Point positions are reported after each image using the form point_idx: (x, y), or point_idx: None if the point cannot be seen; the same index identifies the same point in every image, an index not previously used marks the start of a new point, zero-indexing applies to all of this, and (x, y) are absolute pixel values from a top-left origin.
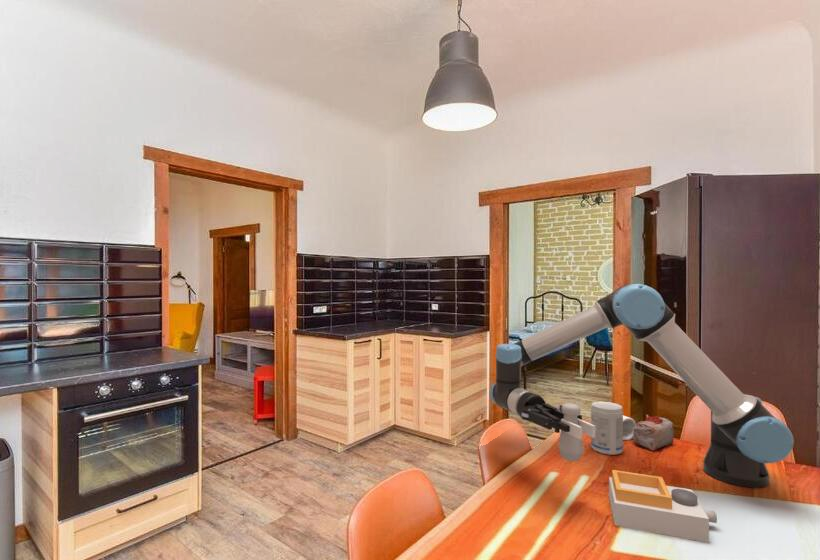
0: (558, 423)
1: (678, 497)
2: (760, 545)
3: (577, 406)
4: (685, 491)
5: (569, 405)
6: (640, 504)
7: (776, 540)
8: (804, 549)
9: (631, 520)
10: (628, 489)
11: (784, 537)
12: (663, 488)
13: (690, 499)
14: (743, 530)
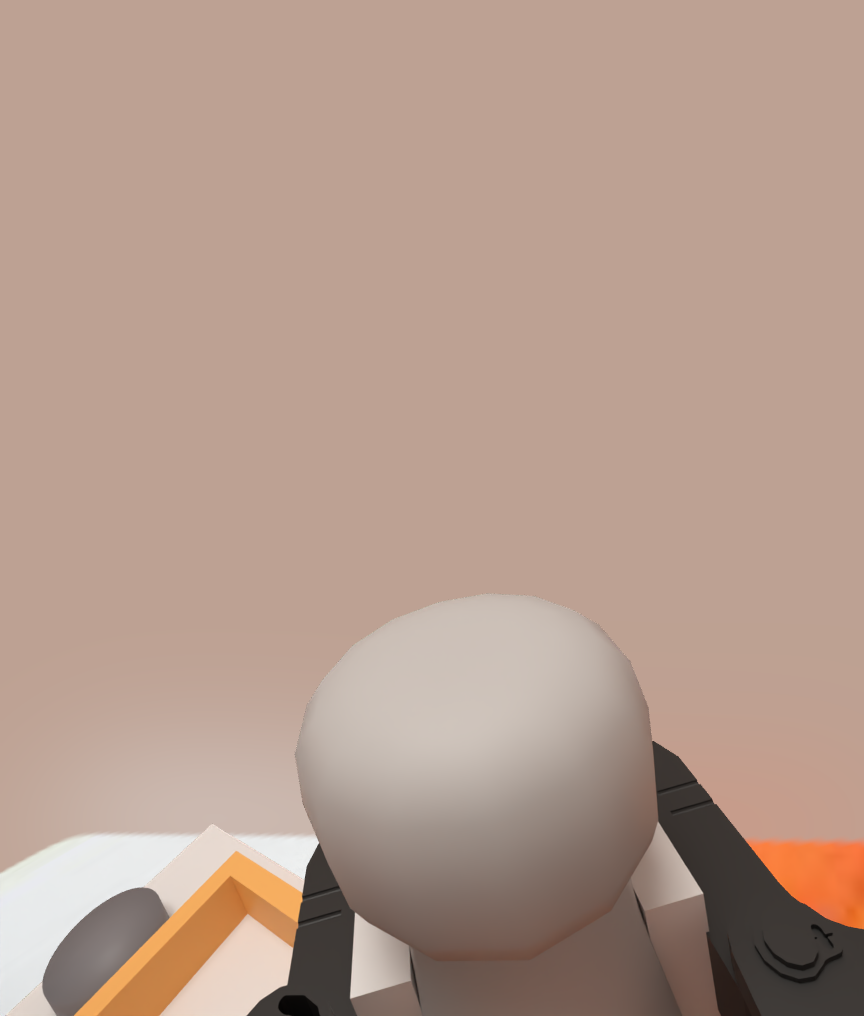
0: (764, 871)
1: (160, 916)
2: (127, 868)
3: (391, 623)
4: (63, 968)
5: (508, 612)
6: None
7: (54, 889)
8: (62, 849)
9: None
10: None
11: (12, 903)
12: (161, 945)
13: (145, 889)
14: (48, 951)
